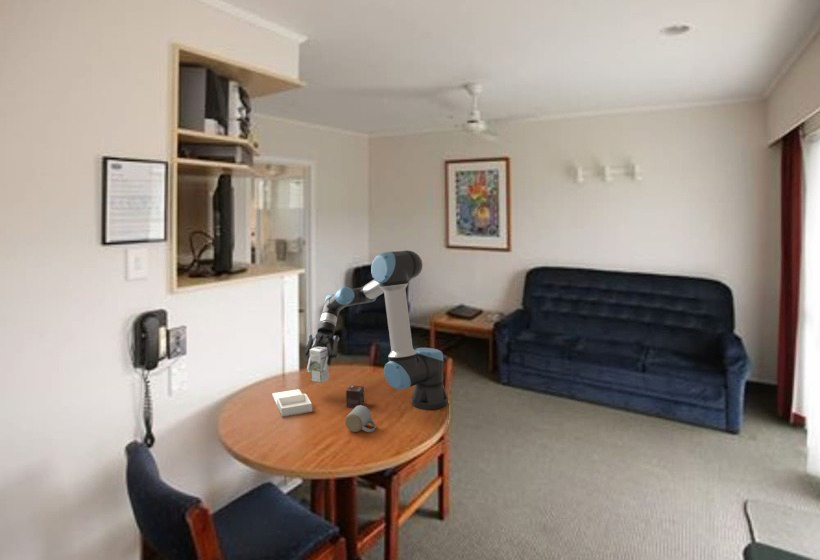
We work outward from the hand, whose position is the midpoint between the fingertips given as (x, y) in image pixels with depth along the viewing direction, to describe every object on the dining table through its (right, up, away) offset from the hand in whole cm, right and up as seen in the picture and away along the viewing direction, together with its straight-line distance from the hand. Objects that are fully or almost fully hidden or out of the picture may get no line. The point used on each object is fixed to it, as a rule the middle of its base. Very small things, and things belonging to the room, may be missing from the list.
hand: (316, 370), depth 206 cm
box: (+17, -14, -4) cm, 22 cm away
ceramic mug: (+22, -17, -26) cm, 38 cm away
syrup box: (+1, -5, +4) cm, 7 cm away
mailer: (-11, -13, -1) cm, 17 cm away
